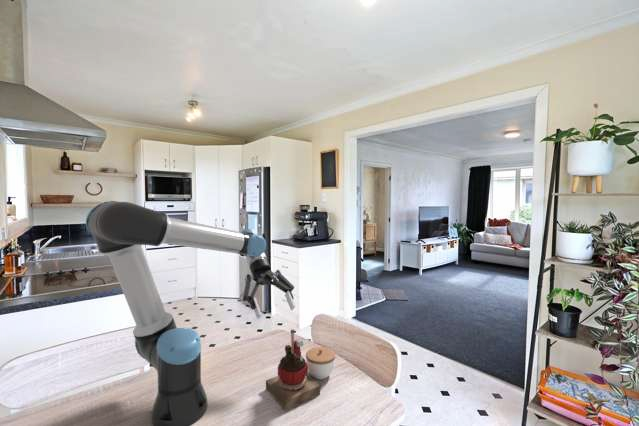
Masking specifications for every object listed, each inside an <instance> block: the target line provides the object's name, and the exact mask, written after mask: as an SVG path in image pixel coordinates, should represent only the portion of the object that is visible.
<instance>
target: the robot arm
mask: <svg viewBox="0 0 639 426" xmlns="http://www.w3.org/2000/svg"><path fill="white" fill-rule="evenodd" d="M85 227H86V229H87V232H88V233H89V234H90V235H91V237H93V239H94V241H95V243H96V245H97V247H98V250H99V252H100V254H101V255H104V256H106V257H108V258H109V260H110V263H111V266H112V268H113V270H114V273H115V275H116V278H117V281H118V282H119V285H120V288H121V290H122V293H123V295H124V298H125V300H126V303H127V305H128V308H129V310H130V313H131V315H132V318H133V321H134V322H135V327H134V328H133V331H132V334H133V337H134V346H135V349H136V351H137V354H138V355H139V356H140V357H141V358H142V359H144V360H145V361H146V362H148V364H149V365H150V366H151V367H153V368H154V369H155V370H156V372H157V393H156V397H155V400H154V403H153V407H152V409H151V423H152V425H153V426H191V425H192V424H194V423H195V422H197V421H198V420H200V419H201V418H202V417H203V416H204V414H205V413H206V411H207V409H208V396H207V393H206V391H205V387H204V386H203V383H202V376H201V375H202V368H201V367H202V366H201V365H202V364H201V363H202V360H201V359H202V357H201V355H202V354H201V353H202V351H201V350H202V343H201V337H200V335H199V333H198V331H196V330H194V329H192V328H189V327H187V328H185V327H177V325H176V321H175V319H174V317H173V314H172V313H169V312H166V310H165V307H164V304H163V301H162V299H161V297H160V293H159V291H158V287H157V285H156V283H155V279H154V277H153V275H152V271H151V269H150V266H149V264H148V260H147V258H146V255H145V252H144V249H143V247H142V246H154V247H159V246H161V245H162V244H164V245H174V246H180V247H186V248H187V247H188V248H194V249H202V250H209V251H210V250H211V251H215V252H224V253H229V254H231V253H232V254H236V255H244V257H245V260H246V261H247V264H248V267H249V270H250V272H251V275H250V273H249V274H246V276H245V279H244V280H245V287H244V291H243V296H242V301H243V302H247V303H248V304H249V306H250V309H251V310H253V311H254V314H255V317H256V319H257V320H258V319H260V318H261V316H262V312H261V309H260V306H259V304H258V303H259V302H258V299H257V297H255V295H256V292H257V290H258V288H259V287H260V286H261V287H262V286H265V285H271V286H274V287H276V288H278V289H279V290H280V291H281V292H283V293H284V294H285V295H284V296H285V298H286V299H285V300H286V301H287V304H288V307H289V309H290V311H293V310H294V309H295V307H296V304H295V301H294V295H293V293H292V292H293V290H294V289H295V286H294V284H292V283H291V282H290V281H289V280H288V279H287V278H286V277H285V276H284V275H283V274H282V273H281V271H280V269H276V270H275V271H272V268H271V265H270V263H269V260H268V258H267V255H266V252H265V250H266V248H267V242H266V239H265V238H264V237H263V236H262V235H259V234H258V233H257V231H256V230H255V229H252V228H248V229H243V230H242V231H236V230H231V229H228V228H222V227H217V226H212V225H206V224H203V223H200V222H199V223H198V222H192V221H188V220H185V219H184V220H183V219H179V218H174V217H170V216H169V215H168V214H167V213H166V212H163V211H158V210H155V209H152V208H151V209H150V208H147V207H144V206H142V205H138V204H136V203H133V202H130V201H129V202H128V201H116V200H110V201H104V202H101V203H98V204H97V205H95V206H94V207H92V208H91V209H90V210H89V211H88V213H87V215H86V217H85ZM252 280H253V281H254V282H256V283H255V285H254V287H253V289H252V291H251V293H250V295H249V292H250V289H251V282H252Z"/></svg>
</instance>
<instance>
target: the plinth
mask: <svg viewBox="0 0 639 426" xmlns="http://www.w3.org/2000/svg"><path fill="white" fill-rule="evenodd" d="M306 377H307V382H306V384H305V385H304V386H302V388H299V389H296V390H294V389H291V390H289V389H286V388H285V389H284V388H283V386H282V387H280V385H279V384H278V378H280V377H279V376H278V375H276V376H274V377H270V378H269V379H266V380H265V390H266V391H267V392H268V393H269V394H270V395H271V396H272V398H273V400H275V401H276V402H277V403H278V404H279V405H280V406H281V407H282V409H284V411H286V412H287V411H289V410H291V409H292V408H294V407H296V406H298V405H301V404H302V403H305V402H307V401H309V400H311V399H313V398H315V397H317V396H319V395H320V394H321V385H320V384H319V383H318V382H317V381H315V380H314V378H313V377H310V375H308V373H307V374H306Z"/></svg>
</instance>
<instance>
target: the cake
mask: <svg viewBox="0 0 639 426" xmlns="http://www.w3.org/2000/svg"><path fill="white" fill-rule="evenodd" d="M290 331H291V332H290V335H291V336H290V337H291V338H290V341H291V342H290V344H287V345H285V346H284V351H285V355H284V356H283V357H281V358H280V361H279V363H278V366H277V376H279V377H280V378H278V384H279V385H280V387H282V386H283V388H284V389H285V388H286V389H289V390H291V389H294V390H296V389H299V388H302V386H304V385H305V384H306V382H307V377H306V374H307V375H308V373H309V371H308V365H307V363H306V358H304V357H303V355H302V351H301V347H303V346H304V340H302V339H296V340H295V328H292V329H291V330H290Z"/></svg>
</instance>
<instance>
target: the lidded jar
mask: <svg viewBox="0 0 639 426" xmlns="http://www.w3.org/2000/svg"><path fill="white" fill-rule="evenodd" d="M305 362H306V363H307V365H308V373H310V375H311V376H312V378H313V379H317V380H325V379H327V378H328V377H330V375H331V374H332V372H333V371H334V368H335V364H336V352H335V351H334V350H333V349H332V348H329V347H326V346H314V347H312V348H310V349H307V350H306V353H305Z"/></svg>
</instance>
